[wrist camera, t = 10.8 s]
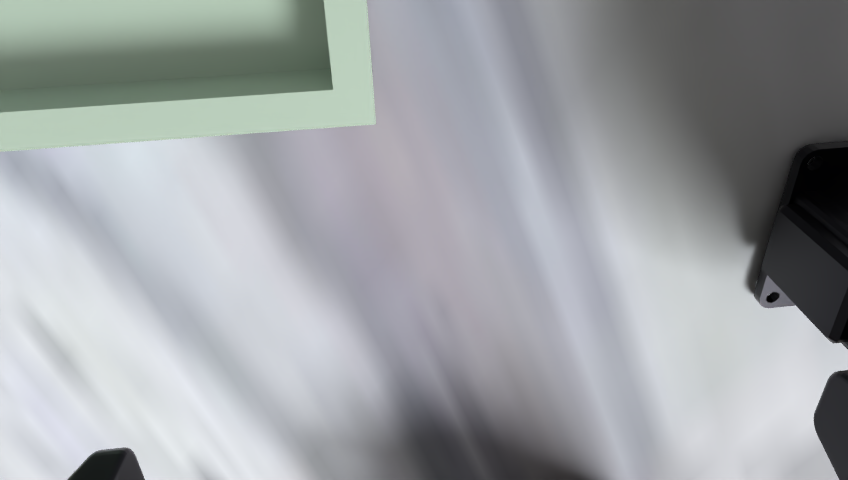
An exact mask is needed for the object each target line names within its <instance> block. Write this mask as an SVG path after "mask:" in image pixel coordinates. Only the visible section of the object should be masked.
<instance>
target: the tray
mask: <svg viewBox="0 0 848 480" xmlns="http://www.w3.org/2000/svg"><path fill="white" fill-rule="evenodd" d="M373 124H376V119H375V106H374V92H373V79H372V65H371V52H370V38H369V25H368V11H367V0H0V152H2V151H16V150H30V149H43V148H57V147H71V146H85V145H98V144H112V143H126V142H140V141H153V140H167V139H181V138H194V137H208V136H222V135H236V134H249V133H263V132H277V131H291V130H304V129H318V128H332V127H345V126H359V125H373Z"/></svg>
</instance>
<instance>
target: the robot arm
mask: <svg viewBox="0 0 848 480" xmlns="http://www.w3.org/2000/svg"><path fill="white" fill-rule="evenodd" d="M813 157H815V159H814V160H813V162H811V163H810V164H808V162H809V161H810V160H811V159H812V158H813ZM770 293H771V294H770ZM769 294H770V295H769ZM754 297H755V299H756V300H757V301H758V302H759V303H760V305H761V306H763V307H765V308H774V307H784V306H794V305H796V306H797V307H798V308H799V309H800V310H801V311H802V312H803V313H804V314H805V315H806V317H807V318H808V319H809V320H810V321H811V322H812V323H813V324H814V325H815V326H816V327H817V328H818V329H819V330H820V331H821V332H822V333H823V334H824V335H825V337H826V338H827V339H828V340H829V341H831V342H832V343H842V344H843V345H844V346H845V347H846V348H847V349H848V141H846V142H833V143H821V144H811V145H807V146H805V147H803V148H802V149H800V150H799V151H798V152H797V153H796V155H795V157H794V159H793V163H792V166H791V169H790V173H789V176H788V180H787V183H786V186H785V190H784V193H783V196H782V200H781V203H780V207H779V210H778V212H777V215H776V219H775V222H774V226H773V229H772V232H771V236H770V239H769V243H768V246H767V249H766V253H765V256H764V260H763V263H762V267H761V271H760V275H759V278H758V281H757V285H756V288H755V291H754ZM814 426H815V430H816V433H817V435H818V437H819V439H820V441H821V443H822V445H823V447H824V449H825V451H826V453H827V455H828V457H829V459H830V461H831V464H832V466H833V468H834V470H835V472H836V474H837V476H838V478H839V480H848V370H845V371H837V372H834V373H833V374H832V375H831V376H830V377H829V379H828V381H827V383H826V386H825V388H824V391H823V393H822V396H821V398H820V401H819V403H818V406H817V408H816V410H815V413H814ZM67 480H145V479H144V476H143V474H142V471H141V469H140V466H139V463H138V461H137V458H136V456H135V454H134V452H133V451H132V450H131V449H129V448H115V449H106V450H99V451H96V452H94V453H93V454H92V455H90V456H89V457H88V458H87V459H86V460H85V461H84V462H83V463H82V464H81V466H80V467H79V468H78V469H77V470H76V471H75V472H74V473H73V474H72V475H71V476H70V477H69V478H68V479H67Z"/></svg>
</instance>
